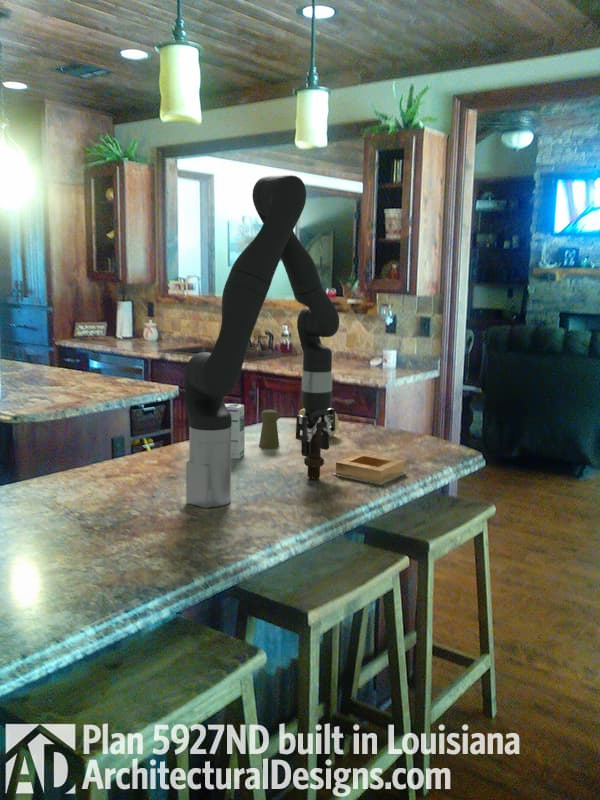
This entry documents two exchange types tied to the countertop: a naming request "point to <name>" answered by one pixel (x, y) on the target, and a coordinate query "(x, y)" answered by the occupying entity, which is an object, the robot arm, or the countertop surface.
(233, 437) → the syrup box
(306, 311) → the robot arm
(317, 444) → the bolt
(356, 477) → the receiver
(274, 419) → the cork
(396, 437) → the countertop surface
